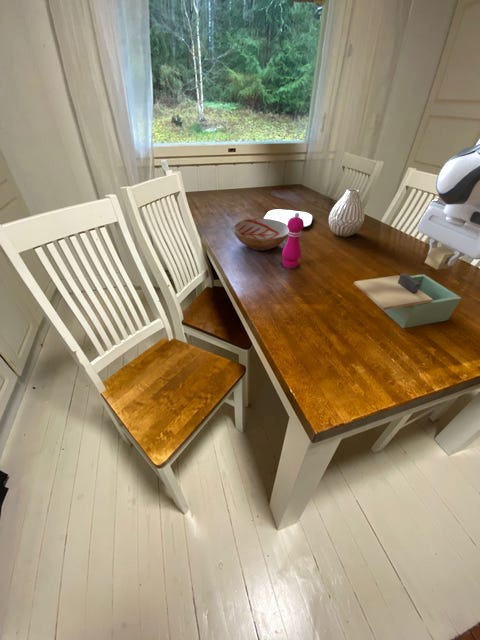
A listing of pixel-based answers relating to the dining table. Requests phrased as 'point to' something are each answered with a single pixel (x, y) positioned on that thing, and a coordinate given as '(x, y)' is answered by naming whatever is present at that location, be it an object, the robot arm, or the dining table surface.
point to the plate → (288, 216)
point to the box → (426, 305)
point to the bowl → (261, 233)
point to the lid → (393, 291)
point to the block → (439, 257)
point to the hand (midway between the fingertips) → (440, 259)
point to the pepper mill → (293, 242)
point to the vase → (347, 214)
